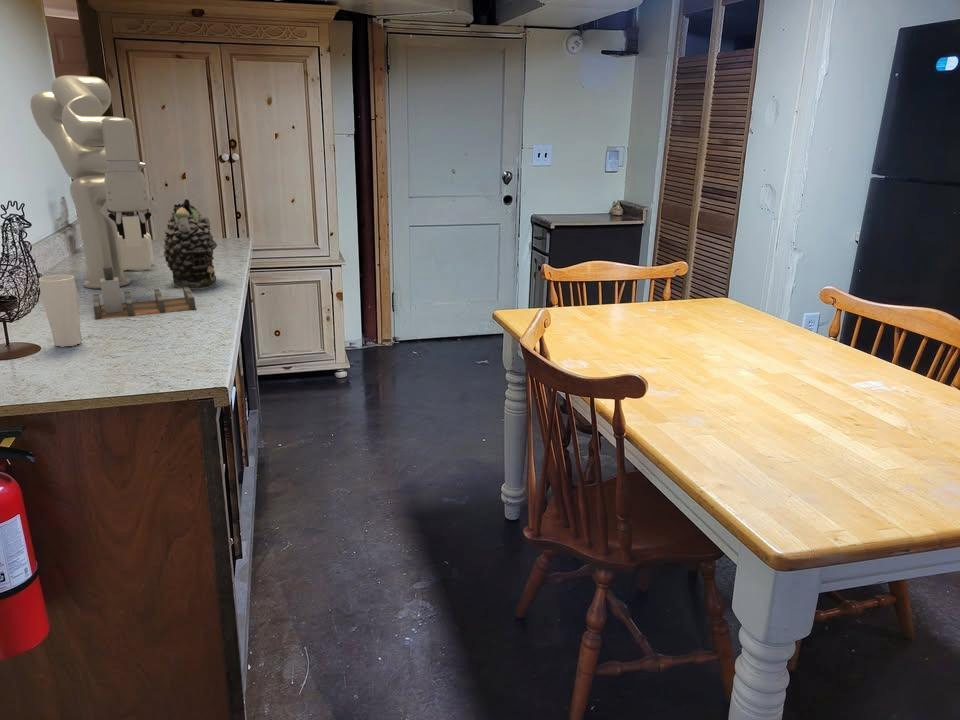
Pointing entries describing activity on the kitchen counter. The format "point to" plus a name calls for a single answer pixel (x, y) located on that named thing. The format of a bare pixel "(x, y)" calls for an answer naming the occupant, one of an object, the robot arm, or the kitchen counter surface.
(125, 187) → the robot arm
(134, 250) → the cable organizer
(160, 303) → the wooden divided tray
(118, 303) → the grey plug
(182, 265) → the decorative house
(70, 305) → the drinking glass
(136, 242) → the cream plug
